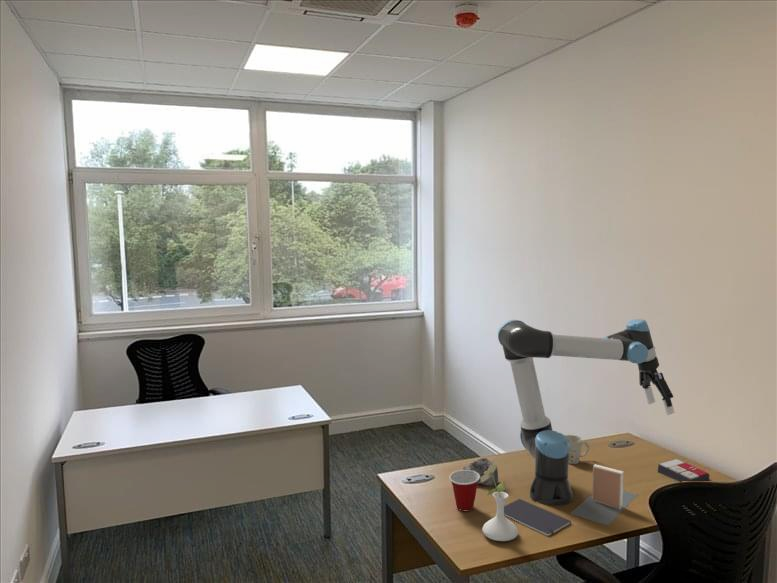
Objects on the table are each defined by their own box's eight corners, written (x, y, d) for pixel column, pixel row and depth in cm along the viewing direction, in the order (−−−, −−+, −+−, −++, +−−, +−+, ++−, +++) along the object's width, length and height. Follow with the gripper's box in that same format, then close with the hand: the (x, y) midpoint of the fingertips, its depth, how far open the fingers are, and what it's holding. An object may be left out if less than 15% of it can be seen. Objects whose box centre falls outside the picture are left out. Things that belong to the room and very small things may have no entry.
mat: (570, 515, 202) (570, 513, 202) (602, 486, 224) (602, 484, 224) (607, 527, 194) (608, 525, 193) (637, 496, 215) (637, 494, 215)
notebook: (570, 525, 196) (519, 502, 213) (570, 520, 196) (519, 498, 212) (548, 538, 188) (496, 513, 205) (548, 533, 188) (496, 509, 204)
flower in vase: (502, 523, 197) (503, 451, 194) (525, 539, 187) (526, 463, 184) (471, 533, 191) (471, 459, 188) (493, 550, 181) (493, 472, 178)
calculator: (691, 478, 222) (657, 462, 236) (690, 489, 223) (657, 472, 236) (710, 472, 227) (676, 457, 240) (709, 483, 228) (675, 467, 241)
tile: (591, 500, 211) (592, 466, 209) (594, 498, 213) (595, 464, 211) (619, 509, 204) (621, 473, 203) (622, 506, 206) (623, 471, 205)
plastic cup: (443, 503, 211) (443, 471, 210) (470, 498, 215) (470, 467, 214) (457, 517, 201) (457, 484, 200) (485, 511, 205) (485, 479, 204)
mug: (557, 458, 250) (557, 436, 249) (582, 455, 254) (582, 432, 253) (568, 466, 242) (569, 443, 241) (594, 462, 246) (595, 439, 245)
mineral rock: (459, 480, 231) (459, 455, 230) (477, 472, 238) (477, 448, 236) (484, 491, 221) (484, 465, 220) (502, 483, 228) (502, 458, 226)
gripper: (673, 362, 214) (688, 414, 217) (639, 348, 239) (652, 395, 242) (654, 369, 214) (670, 421, 217) (622, 354, 239) (636, 401, 241)
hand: (661, 408), depth 229 cm, fingers open, 13 cm apart
